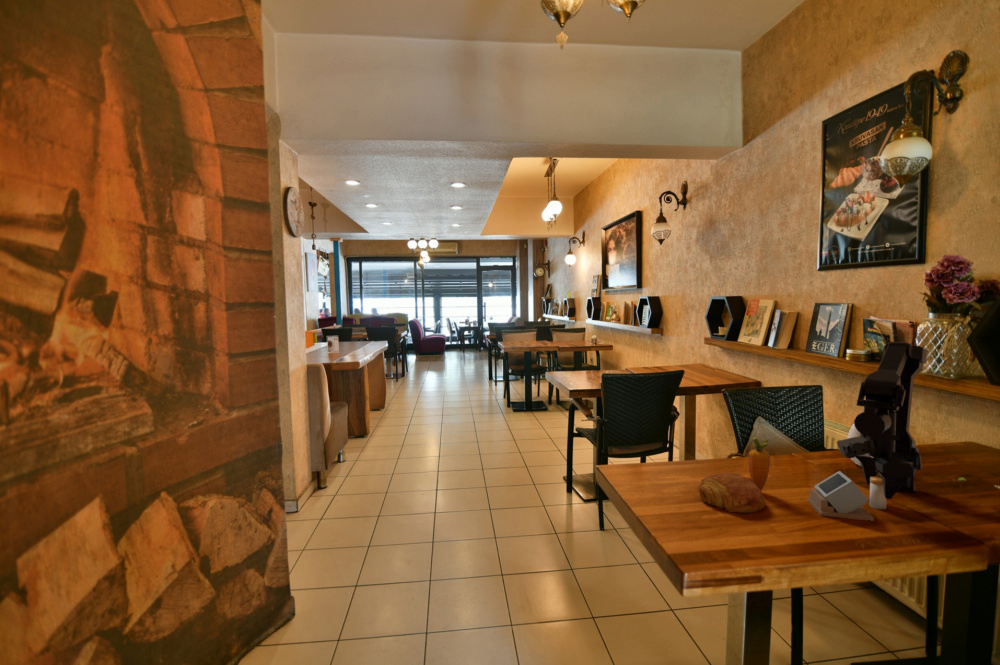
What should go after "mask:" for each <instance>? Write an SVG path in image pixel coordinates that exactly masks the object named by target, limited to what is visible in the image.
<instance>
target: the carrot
mask: <svg viewBox="0 0 1000 665" xmlns="http://www.w3.org/2000/svg"><path fill="white" fill-rule="evenodd" d="M752 440H753V442H754V445H753V447H754V448H755V449H752V450H750V451H749V453H748V471H749V475H750V476H749V477H750V479H751V480H752V481H753V483H754V484H755V485H756V486H757V487H758V488H759V489H760V490H761V491H762V490H763V489H764V487H765V485H766V483H767V481H768V477H769V472H770V465H771V455H770V454H769V452H767V451H765V450H764V448H765V447H767V446H768V442H769V439H768V438H765V439H764V441H763V443H762V444H761V442H760V440H759V438H757V437H756V436H755V437H753V438H752Z"/></svg>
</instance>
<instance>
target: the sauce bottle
mask: <svg viewBox="0 0 1000 665" xmlns="http://www.w3.org/2000/svg"><path fill="white" fill-rule="evenodd" d="M862 412H864V408H863V409H862ZM853 437H860V432H859V431H858V430H857V429H856V427H855V425H854V423H853V424H852V425H851V427H850V429H849V431H848V434H847V438H846V439H849V438H853ZM850 460H851V461H852V462H854V463H855V464H856V465H857V466H859V467H861V464H860V461H859V460H858V459H856V458H855V457H854V458H850Z"/></svg>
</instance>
